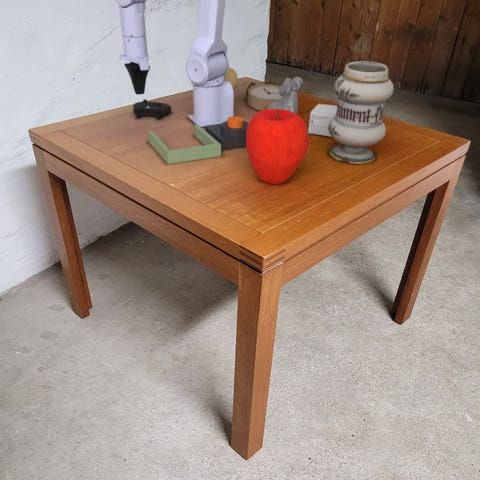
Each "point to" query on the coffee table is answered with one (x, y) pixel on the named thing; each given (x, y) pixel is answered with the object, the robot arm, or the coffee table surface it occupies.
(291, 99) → the figurine
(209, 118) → the robot arm
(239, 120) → the button
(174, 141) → the coffee table surface
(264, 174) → the apple
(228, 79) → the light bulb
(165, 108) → the game controller
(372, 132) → the apothecary jar
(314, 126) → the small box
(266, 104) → the alarm clock
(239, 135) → the push button box
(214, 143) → the dock
